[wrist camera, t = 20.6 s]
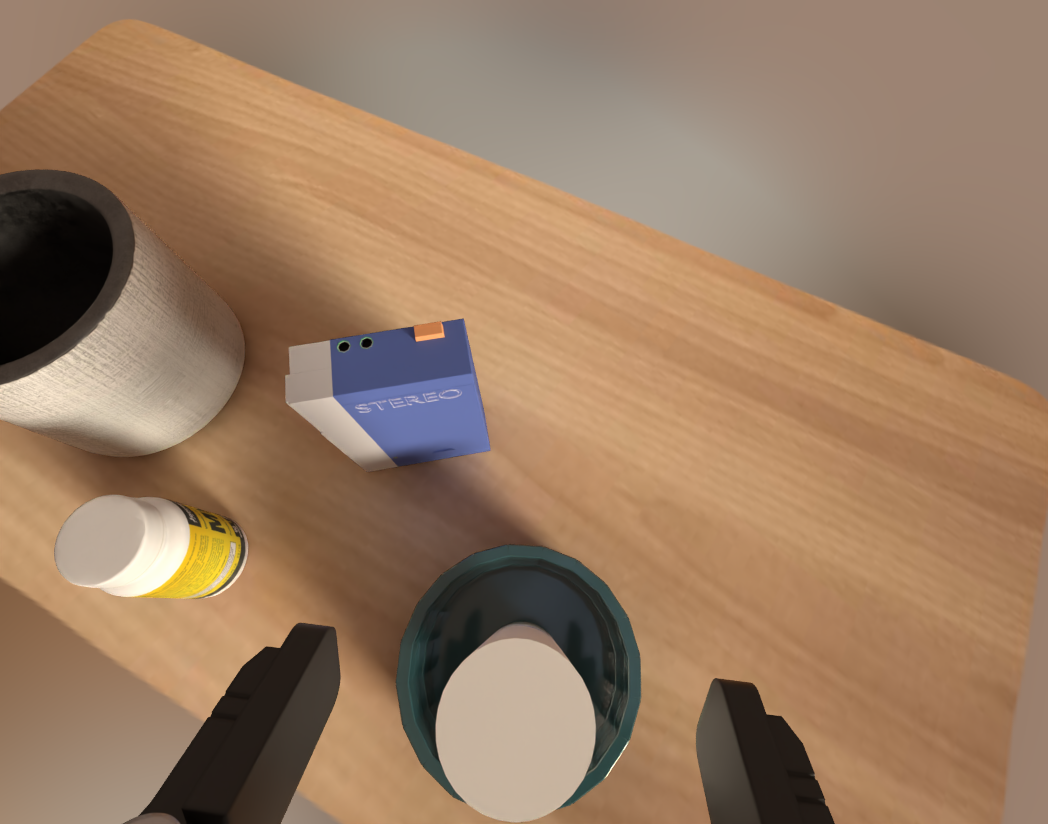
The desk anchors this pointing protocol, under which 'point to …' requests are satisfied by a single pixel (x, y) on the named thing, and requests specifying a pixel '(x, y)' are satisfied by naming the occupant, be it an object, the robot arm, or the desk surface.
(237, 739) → the robot arm
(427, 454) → the walkman
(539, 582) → the bowl
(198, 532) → the supplement bottle
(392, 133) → the desk surface
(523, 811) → the tube
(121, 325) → the planter
